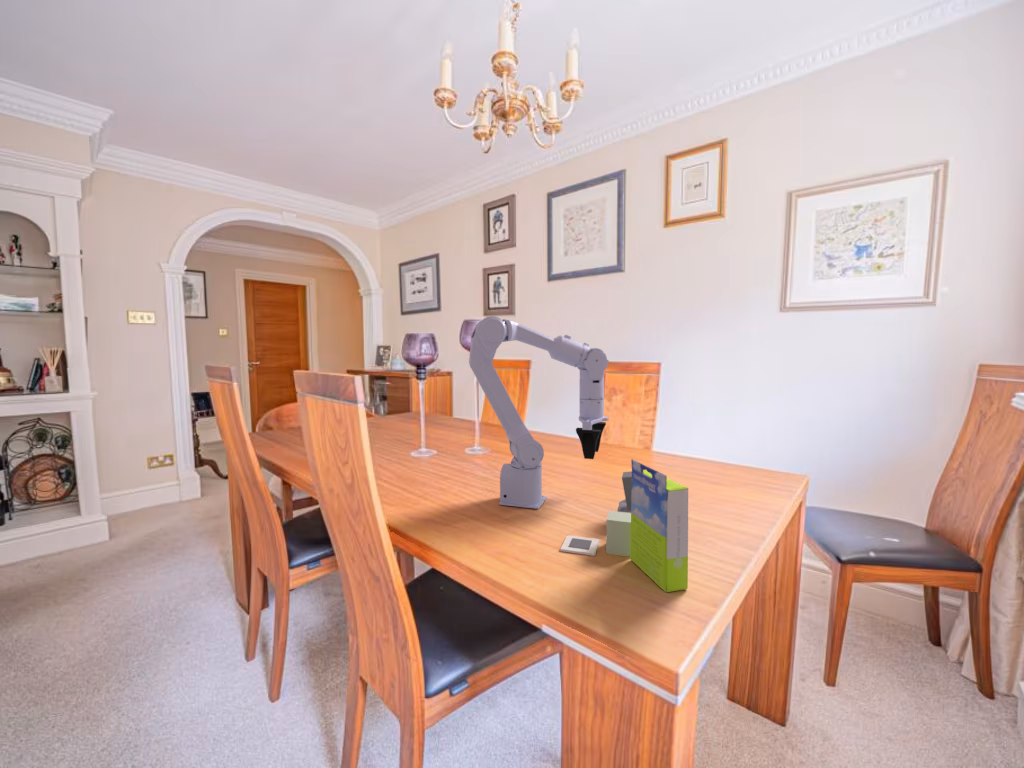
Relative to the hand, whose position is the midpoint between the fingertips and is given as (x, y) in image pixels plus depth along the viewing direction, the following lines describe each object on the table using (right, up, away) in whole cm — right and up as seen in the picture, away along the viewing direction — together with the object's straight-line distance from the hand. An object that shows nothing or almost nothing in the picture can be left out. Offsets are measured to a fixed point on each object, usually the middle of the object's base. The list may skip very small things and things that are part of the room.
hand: (591, 454), depth 102 cm
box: (+4, -13, -35) cm, 38 cm away
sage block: (0, -12, -27) cm, 29 cm away
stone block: (+8, -12, -14) cm, 20 cm away
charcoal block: (+7, -8, -14) cm, 17 cm away
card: (-7, -12, -25) cm, 29 cm away
